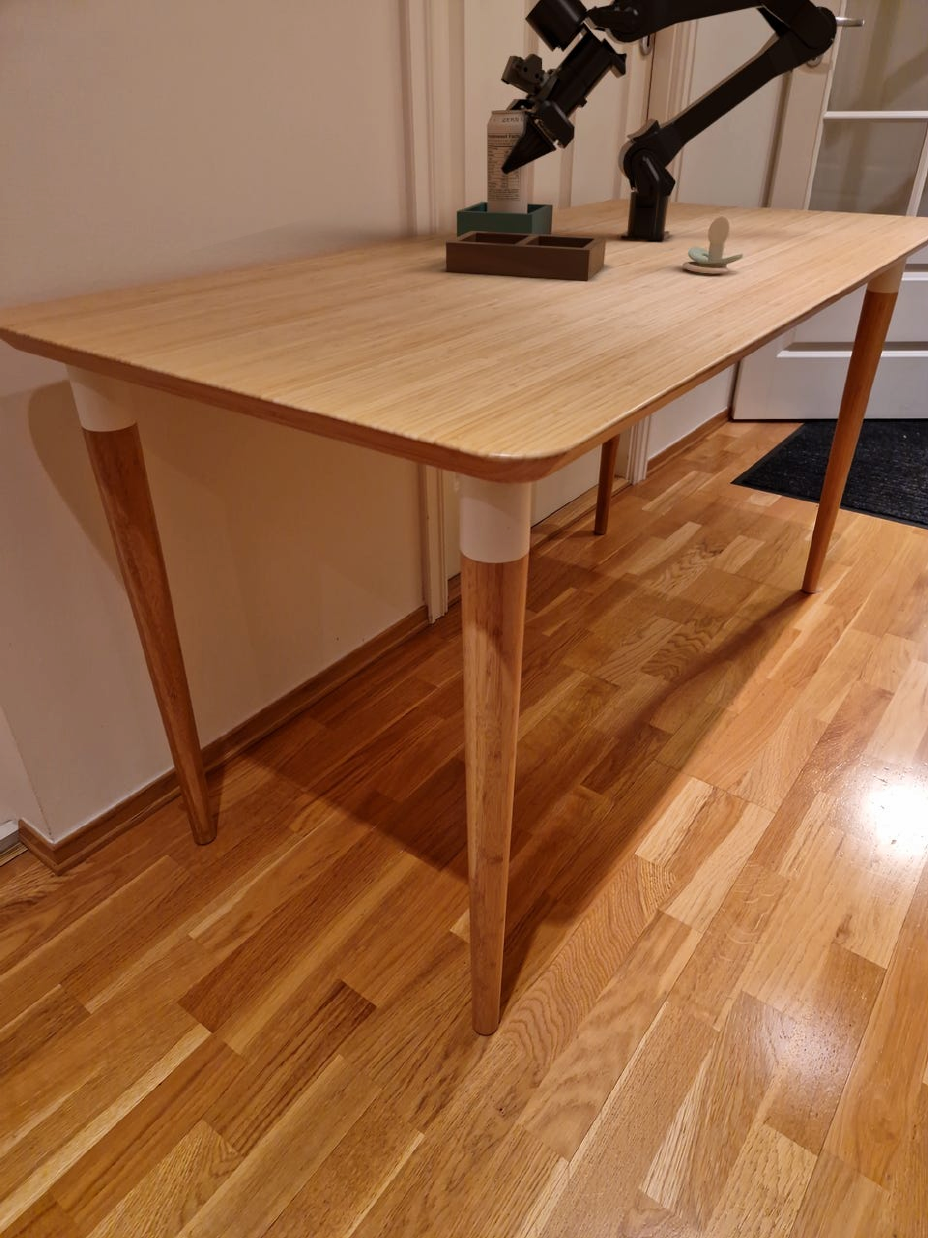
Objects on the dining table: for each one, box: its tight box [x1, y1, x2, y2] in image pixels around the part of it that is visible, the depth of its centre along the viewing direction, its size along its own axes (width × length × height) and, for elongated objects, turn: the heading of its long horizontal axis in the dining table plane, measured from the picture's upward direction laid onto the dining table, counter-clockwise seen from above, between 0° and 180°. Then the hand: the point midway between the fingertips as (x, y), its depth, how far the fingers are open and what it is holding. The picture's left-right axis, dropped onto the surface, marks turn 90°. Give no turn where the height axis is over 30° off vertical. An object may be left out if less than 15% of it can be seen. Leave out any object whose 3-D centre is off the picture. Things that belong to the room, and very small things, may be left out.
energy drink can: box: [486, 109, 529, 214], centre depth 123 cm, size 6×6×15 cm
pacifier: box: [681, 216, 744, 275], centre depth 106 cm, size 7×6×6 cm
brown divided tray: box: [445, 231, 607, 282], centre depth 108 cm, size 10×19×4 cm, turn 70°
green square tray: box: [456, 201, 554, 238], centre depth 127 cm, size 12×12×4 cm
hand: (498, 169), depth 123 cm, fingers closed on energy drink can, 6 cm apart
